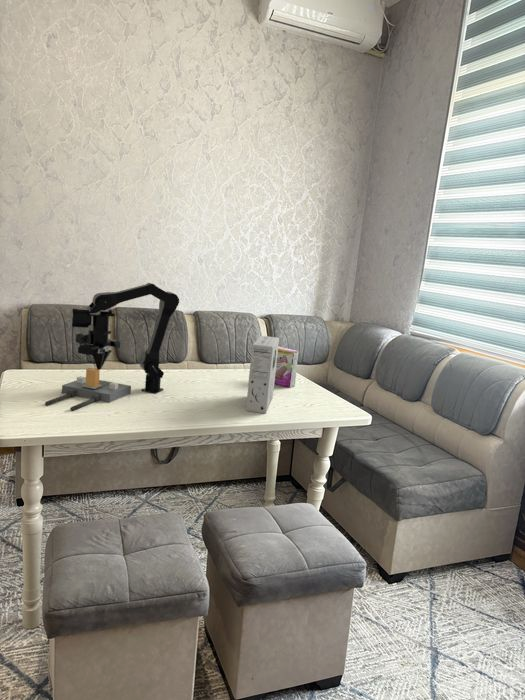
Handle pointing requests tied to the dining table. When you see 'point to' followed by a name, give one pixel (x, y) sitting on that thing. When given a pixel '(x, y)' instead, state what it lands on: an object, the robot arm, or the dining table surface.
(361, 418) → the dining table surface
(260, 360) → the cereal box
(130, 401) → the dining table surface
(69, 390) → the panel
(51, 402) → the twin dark prongs
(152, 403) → the dining table surface
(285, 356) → the candy bar box
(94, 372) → the breaker handle
